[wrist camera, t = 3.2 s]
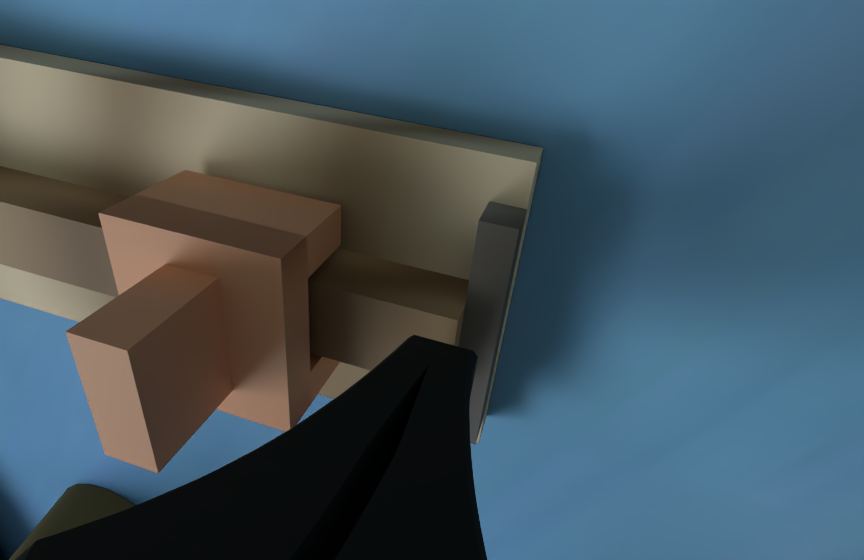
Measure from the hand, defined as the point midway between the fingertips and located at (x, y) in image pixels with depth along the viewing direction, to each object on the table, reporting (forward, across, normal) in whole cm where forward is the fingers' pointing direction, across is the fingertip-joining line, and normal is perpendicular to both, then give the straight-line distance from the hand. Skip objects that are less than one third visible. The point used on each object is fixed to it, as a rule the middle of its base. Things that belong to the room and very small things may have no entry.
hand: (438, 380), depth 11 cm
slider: (+2, +5, 0) cm, 6 cm away
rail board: (+3, +9, 0) cm, 10 cm away
